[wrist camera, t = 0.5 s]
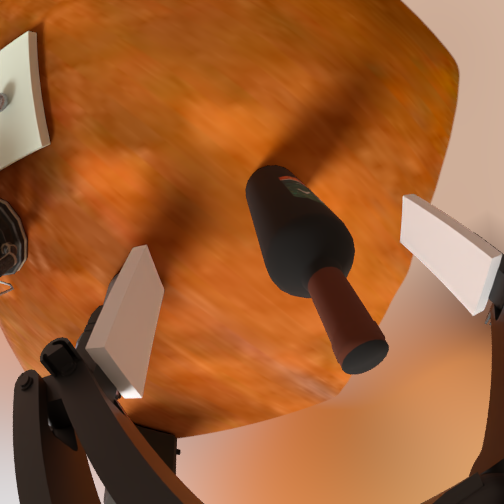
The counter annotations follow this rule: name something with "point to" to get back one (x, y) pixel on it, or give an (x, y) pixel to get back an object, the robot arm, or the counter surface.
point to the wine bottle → (313, 262)
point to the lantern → (11, 242)
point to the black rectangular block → (161, 445)
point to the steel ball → (3, 101)
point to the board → (21, 101)
